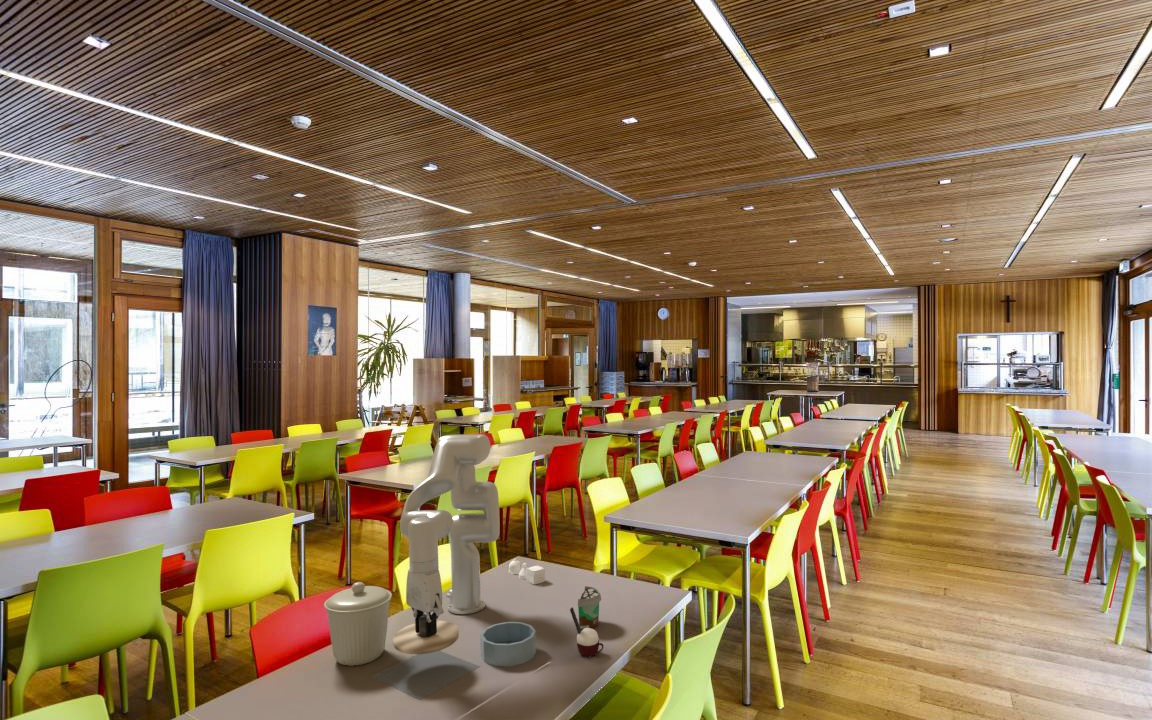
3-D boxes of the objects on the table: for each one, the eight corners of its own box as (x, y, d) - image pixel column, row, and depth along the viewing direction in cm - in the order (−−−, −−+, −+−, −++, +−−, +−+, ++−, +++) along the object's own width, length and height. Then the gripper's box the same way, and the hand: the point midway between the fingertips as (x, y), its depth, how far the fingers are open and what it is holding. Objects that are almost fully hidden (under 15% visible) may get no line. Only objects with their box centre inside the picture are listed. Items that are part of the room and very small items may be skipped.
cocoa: (606, 655, 169) (607, 612, 169) (591, 663, 164) (592, 618, 164) (581, 644, 175) (582, 602, 176) (566, 651, 171) (567, 608, 171)
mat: (371, 677, 159) (371, 676, 159) (431, 648, 175) (431, 647, 175) (419, 701, 147) (419, 699, 147) (480, 667, 163) (480, 666, 163)
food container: (598, 634, 182) (597, 600, 182) (578, 633, 183) (577, 599, 183) (604, 617, 194) (604, 586, 194) (586, 616, 195) (585, 585, 195)
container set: (545, 582, 229) (544, 568, 229) (533, 586, 225) (533, 571, 226) (517, 569, 245) (517, 556, 245) (506, 572, 241) (505, 558, 242)
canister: (367, 677, 160) (365, 596, 160) (310, 669, 165) (309, 591, 166) (405, 646, 177) (404, 574, 178) (353, 640, 182) (351, 570, 183)
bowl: (470, 657, 169) (469, 636, 169) (507, 638, 181) (507, 618, 181) (509, 672, 160) (508, 649, 160) (546, 651, 172) (545, 629, 172)
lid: (379, 642, 160) (379, 621, 160) (430, 619, 174) (430, 599, 174) (421, 660, 150) (420, 637, 150) (471, 634, 164) (471, 613, 164)
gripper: (393, 563, 164) (395, 630, 164) (433, 575, 154) (435, 647, 154) (415, 555, 170) (417, 620, 170) (455, 566, 160) (457, 635, 160)
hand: (426, 632), depth 162 cm, fingers closed on lid, 3 cm apart
